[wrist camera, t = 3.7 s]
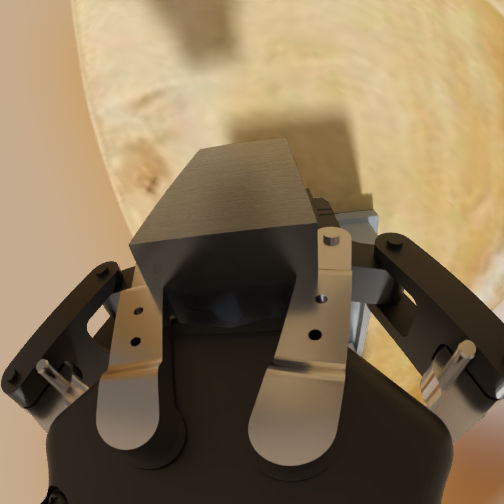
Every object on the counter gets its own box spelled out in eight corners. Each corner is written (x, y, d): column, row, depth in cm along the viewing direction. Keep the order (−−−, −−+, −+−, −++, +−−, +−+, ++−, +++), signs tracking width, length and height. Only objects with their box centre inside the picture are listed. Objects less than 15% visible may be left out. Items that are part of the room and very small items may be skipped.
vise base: (251, 223, 24) (247, 275, 18) (373, 209, 23) (406, 254, 17) (276, 358, 35) (278, 405, 29) (357, 347, 34) (369, 392, 28)
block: (224, 253, 16) (201, 382, 9) (199, 149, 12) (128, 245, 6) (295, 245, 15) (314, 377, 9) (285, 137, 12) (317, 222, 5)
